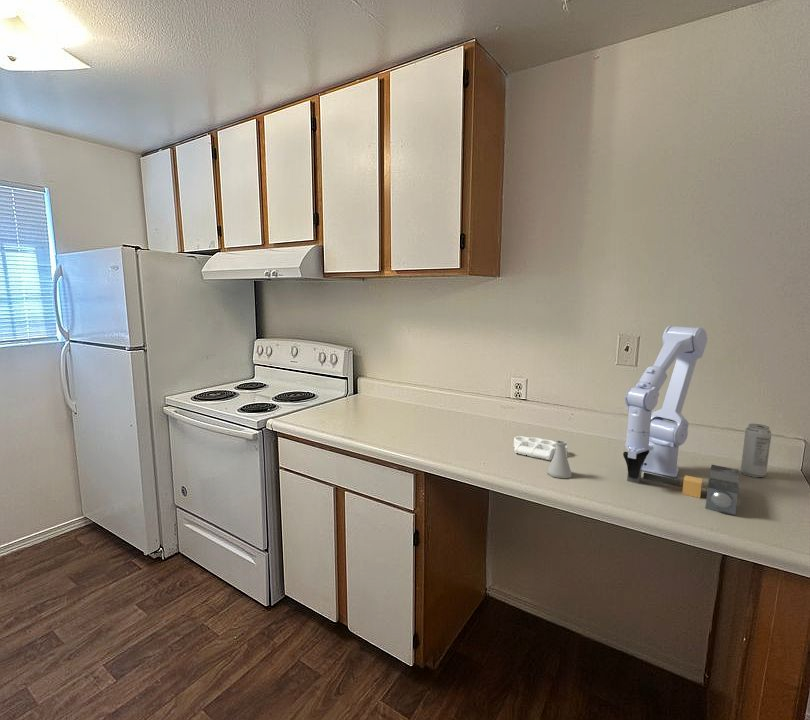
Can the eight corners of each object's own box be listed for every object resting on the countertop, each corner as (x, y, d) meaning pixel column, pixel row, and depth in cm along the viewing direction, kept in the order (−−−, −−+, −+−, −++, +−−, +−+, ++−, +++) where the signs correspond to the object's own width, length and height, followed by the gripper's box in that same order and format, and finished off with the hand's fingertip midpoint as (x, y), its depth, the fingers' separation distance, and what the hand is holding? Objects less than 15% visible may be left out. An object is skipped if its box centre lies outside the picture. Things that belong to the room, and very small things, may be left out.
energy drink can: (754, 470, 135) (760, 422, 133) (771, 478, 129) (777, 428, 127) (735, 470, 135) (741, 423, 133) (751, 478, 129) (757, 428, 127)
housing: (705, 509, 110) (708, 484, 109) (709, 486, 123) (711, 464, 122) (735, 517, 106) (738, 491, 105) (735, 492, 120) (738, 469, 119)
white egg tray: (504, 453, 149) (519, 442, 161) (559, 465, 139) (570, 452, 151) (505, 444, 149) (520, 433, 161) (560, 454, 139) (571, 442, 151)
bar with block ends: (626, 481, 126) (628, 464, 126) (629, 476, 130) (631, 460, 129) (704, 499, 115) (706, 481, 115) (705, 493, 119) (707, 476, 118)
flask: (543, 469, 135) (545, 437, 133) (567, 469, 134) (569, 438, 133) (550, 479, 128) (552, 445, 126) (575, 479, 127) (578, 446, 126)
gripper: (650, 438, 117) (645, 487, 119) (658, 426, 128) (654, 471, 130) (621, 433, 121) (617, 480, 123) (631, 422, 133) (627, 465, 134)
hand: (634, 475), depth 127 cm, fingers closed on bar with block ends, 3 cm apart
